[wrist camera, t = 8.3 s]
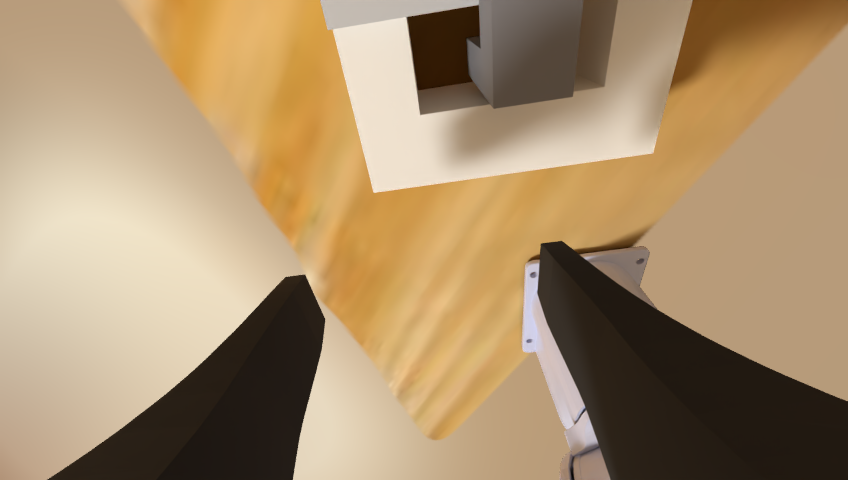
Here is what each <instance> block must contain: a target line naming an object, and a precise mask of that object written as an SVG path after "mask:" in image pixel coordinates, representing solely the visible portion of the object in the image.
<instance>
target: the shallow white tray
mask: <svg viewBox="0 0 848 480" xmlns="http://www.w3.org/2000/svg"><path fill="white" fill-rule="evenodd" d="M320 1H321V5H322V9H323V13H324V17H325V21H326V25H327V28H328V30H332V29H333V32H334V36H335V40H336V44H337V48H338V52H339V56H340V60H341V64H342V68H343V72H344V76H345V80H346V84H347V88H348V92H349V96H350V100H351V104H352V108H353V112H354V116H355V120H356V124H357V128H358V132H359V136H360V140H361V144H362V148H363V152H364V156H365V160H366V164H367V168H368V172H369V176H370V180H371V184H372V188H373V192H374V193H376V192H383V191H390V190H397V189H404V188H411V187H418V186H425V185H432V184H439V183H446V182H453V181H461V180H468V179H475V178H482V177H489V176H496V175H503V174H510V173H517V172H524V171H531V170H538V169H545V168H552V167H559V166H567V165H574V164H581V163H588V162H595V161H602V160H609V159H616V158H623V157H630V156H637V155H644V154H651V153H653V151H654V147H655V143H656V140H657V136H658V132H659V128H660V124H661V120H662V116H663V113H664V109H665V105H666V101H667V97H668V93H669V90H670V86H671V82H672V78H673V74H674V70H675V66H676V63H677V59H678V55H679V51H680V47H681V43H682V40H683V36H684V32H685V28H686V24H687V20H688V17H689V13H690V9H691V5H692V1H693V0H583V9H582V19H581V28H580V37H579V46H578V55H577V65H576V74H575V83H574V92H573V97H569V98H562V99H556V100H549V101H542V102H536V103H529V104H523V105H516V106H509V107H503V108H496V109H493V107H492V106H491V105H490V103H489V102H488V101H487V99H486V98H485V97H484V95H483V94H482V92H481V91H480V90H479V88H478V87H477V86H476V84H475V83H474V82H469V83H462V84H456V85H449V86H443V87H437V88H430V89H424V90H418V88H417V81H416V73H415V66H414V59H413V52H412V45H411V38H410V30H409V23H408V17H409V16H415V15H421V14H427V13H433V12H439V11H445V10H451V9H457V8H463V7H469V6H475V5H479V0H320Z"/></svg>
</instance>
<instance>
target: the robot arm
mask: <svg viewBox="0 0 848 480" xmlns="http://www.w3.org/2000/svg"><path fill="white" fill-rule="evenodd" d="M648 257H649V250H648V249H647V248H646V247H644V246H640V247H632V248H624V249H617V250H609V251H601V252H593V253H585V254H578V253H577V252H575V251H574V250H573V249H572V248H570V247H569V246H568V245H566V244H565V243H564V242H562V241H558V242H550V243H543V244H541V249H540V259H539V260H532V261H529V262H528V263H527V264H526V266H525V282H524V305H523V328H522V349H523V351H524V352H536V353H537V355H538V359H539V361H540V364H541V367H542V370H543V373H544V375H545V378H546V381H547V384H548V387H549V389H550V392H551V395H552V398H553V401H554V403H555V406H556V409H557V412H558V414H559V417H560V419H561V421H562V423H563V425H564V427H565V428H566V429H567V430H566V431H565V432H564V433H565V436H566V439H567V442H568V445H569V447H570V450H571V452H569V453H567V454H566V455H565V456H564V457H563V458H562V461H561V465H560V480H848V401H845V400H843V399H840V398H837V397H835V396H833V395H830V394H828V393H825V392H823V391H820V390H818V389H816V388H813V387H811V386H809V385H806V384H804V383H802V382H799V381H797V380H795V379H792V378H790V377H788V376H785V375H783V374H781V373H779V372H776V371H774V370H772V369H770V368H767V367H765V366H763V365H761V364H759V363H757V362H754V361H752V360H750V359H748V358H746V357H744V356H742V355H740V354H738V353H736V352H734V351H732V350H730V349H728V348H726V347H724V346H722V345H720V344H718V343H716V342H714V341H712V340H710V339H708V338H706V337H704V336H702V335H701V334H699V333H697V332H695V331H693V330H691V329H690V328H688V327H686V326H684V325H683V324H681V323H679V322H677V321H676V320H674V319H672V318H670V317H669V316H667V315H665V314H664V313H662V312H660V311H659V310H657V308H656V307H655V306H654V304H653V303H652V302H651V301H650V299H649V298H648V297H647V296H646V294H645V293H644V292H643V291H642V289H641V288H640V287H639V286H640V283H641V280H642V276H643V273H644V270H645V267H646V264H647V260H648ZM638 259H639V260H638ZM532 272H535V273H534V274H531V273H532ZM324 326H325V318H324V316H323V313H322V311H321V309H320V307H319V305H318V302H317V300H316V298H315V296H314V293H313V291H312V289H311V287H310V285H309V282H308V280H307V278H306V276H305V275H298V276H290V277H285V278H284V279H283V280H282V281H281V282H280V283H279V284H278V285H277V286H276V288H275V289H274V290H273V291H272V292H271V293H270V294H269V295H268V296H267V297H266V298H265V299H264V301H262V303H261V304H260V305H259V306H258V307H257V308H256V309H255V310H254V311H253V312H252V313H251V314H250V315H249V316H248V317H247V319H246V320H245V321H244V322H243V323H242V324H241V325H240V326H239V327H238V328H237V329H236V330H235V331H234V332H233V333H232V334H231V335H230V336H229V337H228V338H227V339H226V340H225V341H224V342H223V343H222V344H221V345H220V346H219V347H218V348H217V349H216V350H215V351H214V352H213V353H212V354H211V355H210V356H209V357H208V358H207V359H206V360H204V361H203V362H202V363H201V364H200V365H199V366H198V367H197V368H196V369H195V370H194V371H192V372H191V373H190V374H189V375H188V376H187V377H186V378H184V379H183V380H182V381H181V382H180V383H178V384H177V385H176V386H175V387H174V388H173V389H171V390H170V391H169V392H168V393H167V394H166V395H164V396H163V397H162V398H161V399H159V400H158V401H157V402H155V403H154V404H153V405H151V406H150V407H149V408H148V409H146V410H145V411H144V412H142V413H141V414H140V415H139V416H137V417H136V418H135V419H133V420H132V421H131V422H129V423H128V424H127V425H126V426H124V427H123V428H122V429H120V430H119V431H118V432H116V433H115V434H113V435H112V436H111V437H109V438H108V439H106V440H105V441H104V442H102V443H101V444H99V445H98V446H97V447H95V448H94V449H92V450H91V451H90V452H88V453H87V454H85V455H84V456H82V457H81V458H79V459H78V460H76V461H75V462H73V463H72V464H70V465H69V466H67V467H66V468H65V469H63V470H62V471H60V472H59V473H57V474H55V475H54V476H52V477H51V478H49V479H48V480H293V474H294V468H295V462H296V456H297V449H298V443H299V437H300V433H301V428H302V423H303V419H304V415H305V411H306V408H307V404H308V400H309V397H310V393H311V389H312V385H313V381H314V377H315V374H316V370H317V366H318V362H319V358H320V354H321V350H322V343H323V334H324Z"/></svg>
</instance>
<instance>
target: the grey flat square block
mask: <svg viewBox="0 0 848 480" xmlns="http://www.w3.org/2000/svg"><path fill="white" fill-rule="evenodd" d="M582 9H583V0H479V18H480V36H475V37H469V38H466V42H467V59H468V75H469V76H470V78H471V79H472V80H473V82H474V83H475V84H476V86H477V87H478V88H479V90H480V91H481V92H482V94H483V95H484V97H485V98H486V99H487V101H488V102H489V103H490V105H491V106H492V107H493V109H496V108H503V107H509V106H516V105H523V104H529V103H536V102H542V101H549V100H556V99H562V98H569V97H573V92H574V83H575V74H576V65H577V55H578V46H579V37H580V28H581V19H582Z"/></svg>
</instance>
